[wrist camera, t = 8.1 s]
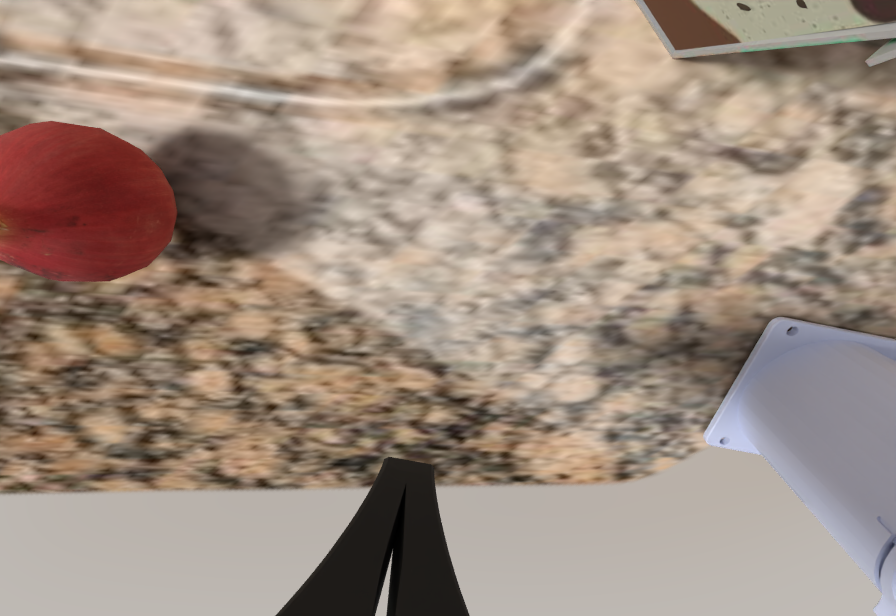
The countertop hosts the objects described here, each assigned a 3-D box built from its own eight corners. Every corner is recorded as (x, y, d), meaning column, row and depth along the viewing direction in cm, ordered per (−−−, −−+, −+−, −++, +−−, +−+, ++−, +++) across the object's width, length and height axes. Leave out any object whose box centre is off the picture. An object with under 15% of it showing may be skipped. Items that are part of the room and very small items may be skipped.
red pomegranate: (198, 271, 21) (51, 352, 13) (81, 216, 20) (-144, 272, 13) (228, 163, 18) (72, 191, 11) (97, 96, 18) (-166, 78, 10)
